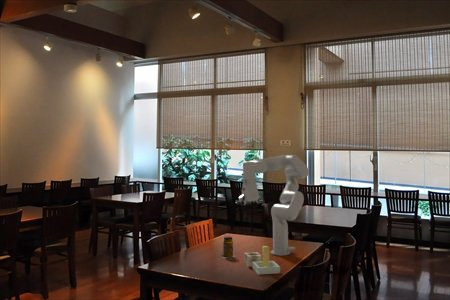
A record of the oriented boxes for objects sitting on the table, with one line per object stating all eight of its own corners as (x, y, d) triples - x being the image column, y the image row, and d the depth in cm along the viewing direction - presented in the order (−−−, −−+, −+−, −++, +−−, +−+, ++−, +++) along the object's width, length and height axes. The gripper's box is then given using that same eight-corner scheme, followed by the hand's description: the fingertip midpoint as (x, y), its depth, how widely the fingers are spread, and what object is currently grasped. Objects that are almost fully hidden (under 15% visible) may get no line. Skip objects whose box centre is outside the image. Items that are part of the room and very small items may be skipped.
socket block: (257, 262, 232) (257, 252, 233) (261, 266, 225) (261, 255, 225) (244, 263, 231) (244, 252, 231) (247, 267, 223) (247, 256, 223)
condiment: (235, 256, 247) (235, 237, 247) (224, 258, 242) (224, 238, 242) (229, 254, 253) (229, 235, 253) (218, 256, 248) (217, 237, 248)
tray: (273, 267, 223) (273, 260, 223) (280, 273, 211) (279, 266, 211) (252, 268, 220) (252, 261, 221) (258, 274, 209) (258, 267, 209)
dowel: (270, 268, 216) (270, 246, 216) (266, 270, 213) (265, 247, 213) (265, 267, 218) (265, 245, 219) (261, 268, 216) (261, 246, 216)
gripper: (243, 183, 227) (243, 213, 227) (264, 181, 239) (264, 209, 238) (234, 182, 233) (235, 211, 232) (255, 181, 244) (255, 208, 244)
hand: (249, 210), depth 235 cm, fingers open, 9 cm apart
